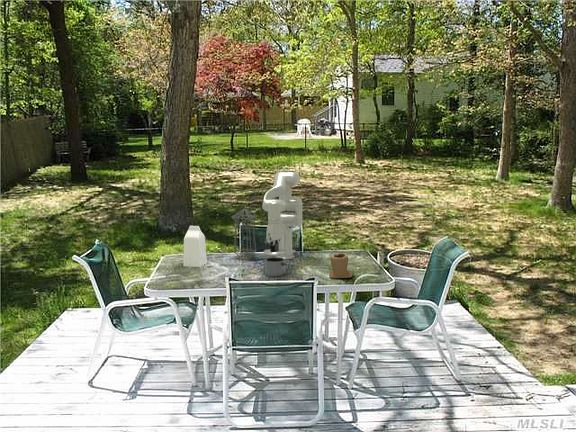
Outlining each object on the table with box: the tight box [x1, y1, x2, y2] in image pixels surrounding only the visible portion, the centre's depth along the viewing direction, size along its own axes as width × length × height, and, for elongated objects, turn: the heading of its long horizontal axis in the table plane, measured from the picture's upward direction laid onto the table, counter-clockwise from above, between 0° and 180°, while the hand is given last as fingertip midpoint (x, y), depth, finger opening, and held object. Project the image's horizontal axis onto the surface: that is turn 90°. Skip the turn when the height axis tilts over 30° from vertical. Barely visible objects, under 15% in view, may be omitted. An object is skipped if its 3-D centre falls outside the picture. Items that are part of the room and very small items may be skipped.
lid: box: [263, 242, 286, 257], centre depth 341 cm, size 14×14×7 cm
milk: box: [182, 225, 208, 268], centre depth 366 cm, size 12×12×26 cm
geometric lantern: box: [231, 208, 259, 261], centre depth 383 cm, size 16×16×35 cm
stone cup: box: [328, 252, 354, 279], centre depth 332 cm, size 15×12×15 cm
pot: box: [262, 256, 288, 277], centre depth 342 cm, size 12×17×9 cm
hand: (274, 250), depth 341 cm, fingers closed on lid, 3 cm apart
